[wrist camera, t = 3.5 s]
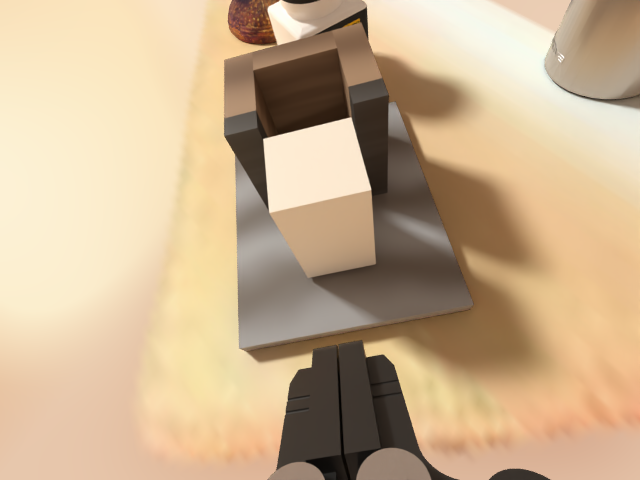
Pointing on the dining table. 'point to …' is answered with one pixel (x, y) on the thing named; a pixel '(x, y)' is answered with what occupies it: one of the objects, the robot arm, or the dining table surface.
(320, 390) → the robot arm
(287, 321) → the u-shaped block stand
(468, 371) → the dining table surface
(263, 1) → the bell
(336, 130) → the peg
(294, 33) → the medicine bottle
